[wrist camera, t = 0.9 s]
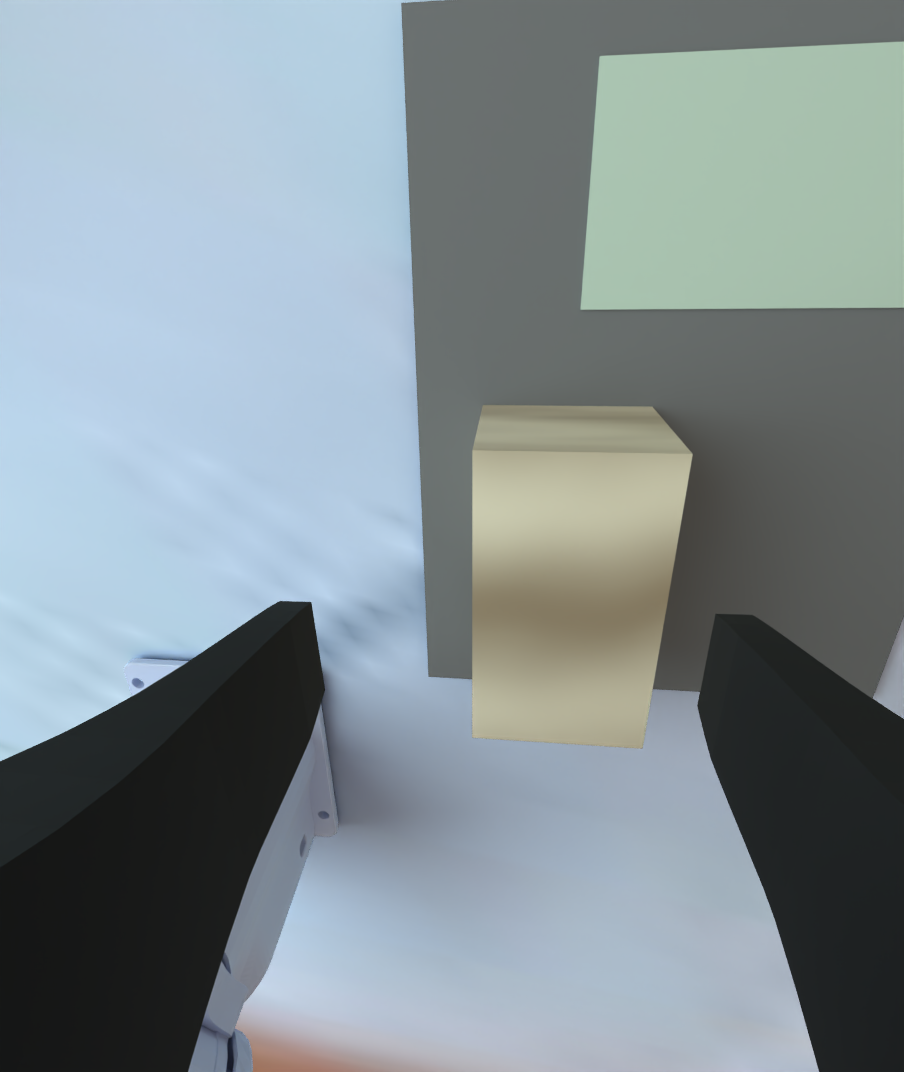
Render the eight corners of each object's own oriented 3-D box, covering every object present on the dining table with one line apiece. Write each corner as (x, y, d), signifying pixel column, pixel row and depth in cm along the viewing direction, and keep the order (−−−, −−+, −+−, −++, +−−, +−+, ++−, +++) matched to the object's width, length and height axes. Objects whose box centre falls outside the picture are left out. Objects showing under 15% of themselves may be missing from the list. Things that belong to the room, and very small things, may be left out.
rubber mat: (865, 693, 21) (872, 703, 21) (429, 670, 23) (428, 678, 23) (1136, -33, 13) (1159, -43, 12) (404, 8, 14) (400, 1, 14)
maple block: (619, 654, 21) (642, 748, 17) (480, 647, 22) (472, 737, 18) (652, 406, 17) (692, 453, 13) (482, 404, 18) (472, 450, 14)
